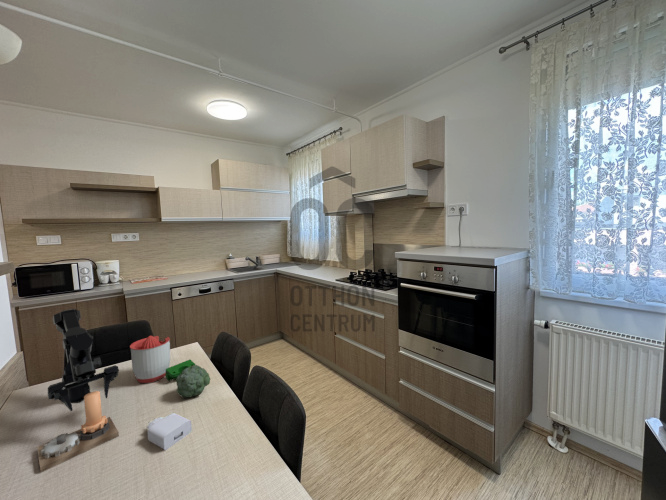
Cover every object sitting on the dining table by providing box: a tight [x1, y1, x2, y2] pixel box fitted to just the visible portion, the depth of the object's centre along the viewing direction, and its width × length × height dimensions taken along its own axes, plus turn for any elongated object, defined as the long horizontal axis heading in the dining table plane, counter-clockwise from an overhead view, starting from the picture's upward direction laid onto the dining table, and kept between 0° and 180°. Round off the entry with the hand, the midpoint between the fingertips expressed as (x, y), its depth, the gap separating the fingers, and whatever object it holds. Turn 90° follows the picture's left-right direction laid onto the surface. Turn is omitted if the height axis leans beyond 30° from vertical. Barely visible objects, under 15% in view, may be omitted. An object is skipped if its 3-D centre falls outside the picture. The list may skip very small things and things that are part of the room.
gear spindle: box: [80, 390, 108, 434], centre depth 92 cm, size 7×7×13 cm
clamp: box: [165, 359, 197, 382], centre depth 130 cm, size 12×6×9 cm, turn 139°
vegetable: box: [175, 364, 211, 398], centre depth 117 cm, size 12×13×15 cm
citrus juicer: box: [129, 335, 171, 384], centre depth 131 cm, size 16×17×20 cm
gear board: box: [36, 416, 120, 473], centre depth 89 cm, size 18×12×5 cm, turn 140°
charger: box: [146, 412, 193, 451], centre depth 93 cm, size 5×9×15 cm
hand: (89, 403), depth 96 cm, fingers open, 9 cm apart
